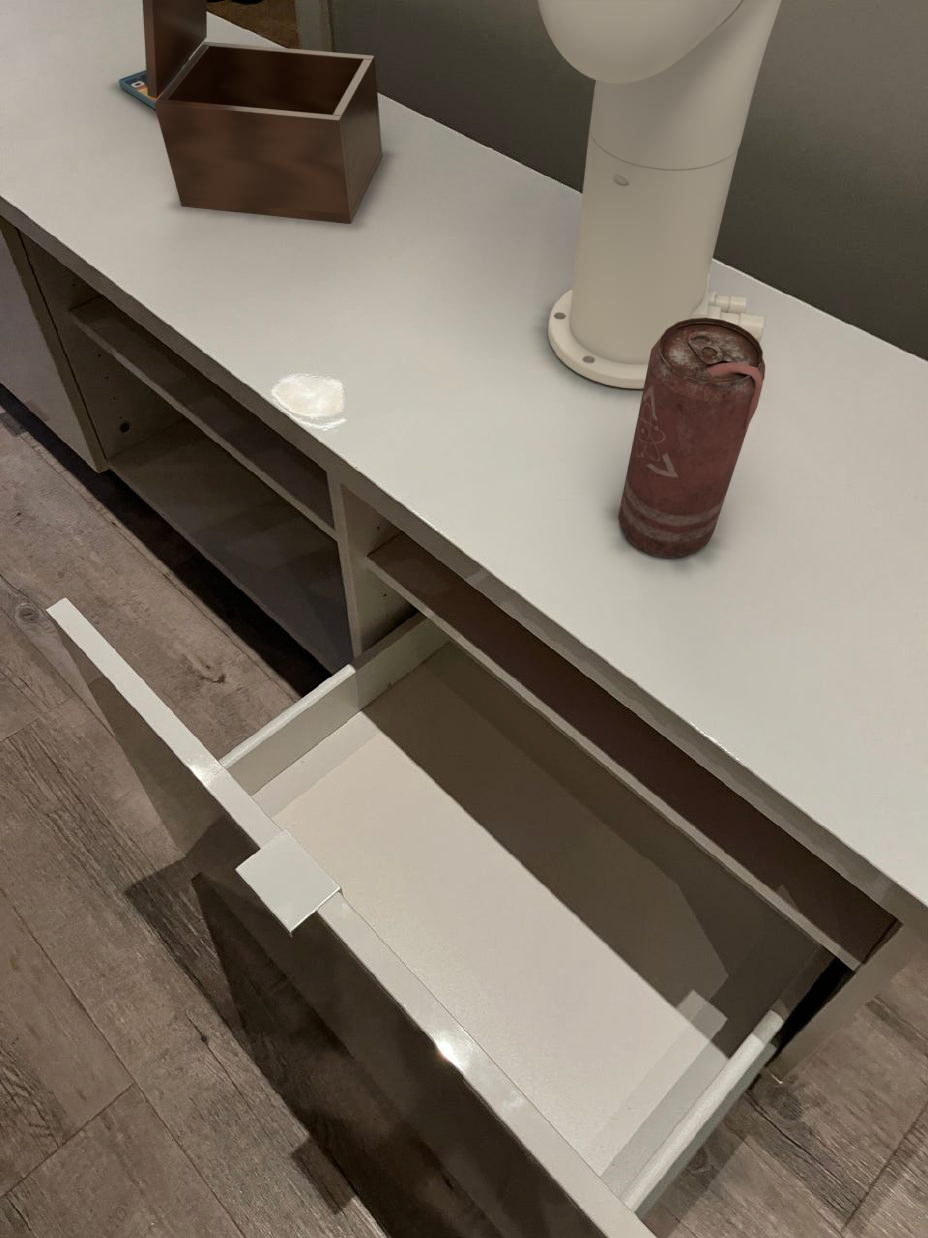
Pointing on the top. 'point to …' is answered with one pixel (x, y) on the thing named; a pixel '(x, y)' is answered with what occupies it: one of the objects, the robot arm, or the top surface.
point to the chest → (273, 130)
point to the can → (689, 434)
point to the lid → (171, 38)
